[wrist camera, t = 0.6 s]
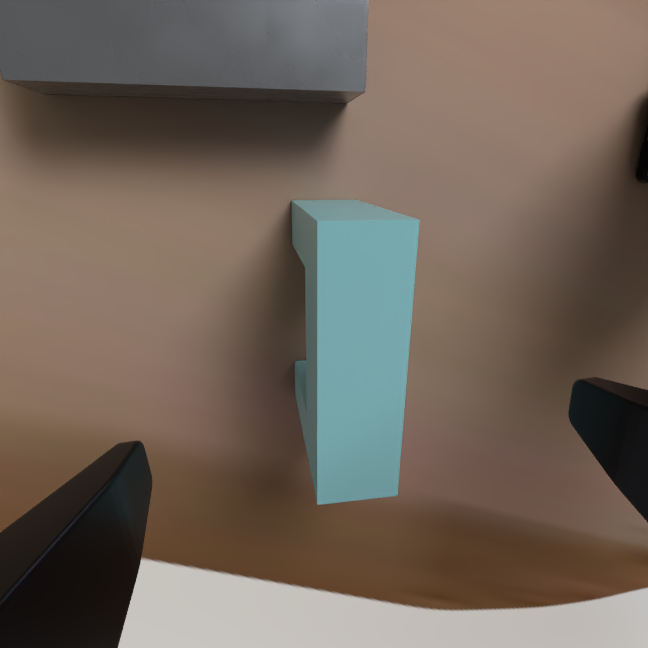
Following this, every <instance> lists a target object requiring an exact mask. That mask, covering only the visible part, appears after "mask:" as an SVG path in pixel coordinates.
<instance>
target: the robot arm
mask: <svg viewBox="0 0 648 648" xmlns="http://www.w3.org/2000/svg"><path fill="white" fill-rule="evenodd" d="M636 177H637V180H638V181H639V182H641V183H648V127H647V131H646V136H645V140H644V144H643V148H642V152H641V156H640V161H639V165H638V169H637V174H636ZM568 414H569V420H570V422H571V424H572V426H573V427H574V429H575V430H576V431H577V433H578V434H579V435H580V437H581V438H582V440H583V441H584V442H585V444H586V445H587V447H588V448H589V449H590V451H591V452H592V454H593V455H594V456H595V458H596V459H597V460H598V462H599V463H600V465H601V466H602V467H603V469H604V470H605V472H606V473H607V474H608V476H609V477H610V478H611V480H612V481H613V482H614V484H615V485H616V486H617V487H618V488H619V490H620V491H621V492H622V493H623V494H624V496H625V497H626V498H627V499H628V500H629V501H630V502H631V504H632V505H633V506H634V507H635V508H636V509H637V511H638V512H639V513H640V514H641V515H642V516H643V517H644V519H645V520H646V521H647V522H648V390H645V389H641V388H637V387H633V386H629V385H625V384H621V383H617V382H613V381H609V380H605V379H601V378H596V377H592V378H585V379H579V380H577V381H575V383H574V384H573V387H572V393H571V399H570V405H569V413H568ZM151 491H152V475H151V471H150V467H149V463H148V459H147V455H146V452H145V448H144V445H143V444H142V442H141V441H130V442H123V443H119V444H117V445H115V446H114V447H113V448H111V449H110V450H109V451H107V452H106V453H105V454H104V455H102V456H101V457H100V458H98V459H97V460H96V461H94V462H93V463H92V464H90V465H89V466H88V467H86V468H85V469H84V470H82V471H81V472H80V473H78V474H77V475H76V476H74V477H73V478H72V479H70V480H69V481H68V482H66V483H65V484H64V485H62V486H61V487H60V488H59V489H57V490H56V491H55V492H53V493H52V494H51V495H49V496H48V497H47V498H45V499H44V500H43V501H41V502H40V503H39V504H37V505H36V506H35V507H33V508H32V509H31V510H29V511H28V512H27V513H25V514H24V515H23V516H21V517H20V518H19V519H17V520H16V521H15V522H14V523H12V524H11V525H10V526H8V527H7V528H6V529H4V530H3V531H2V532H0V648H118V644H119V641H120V637H121V633H122V630H123V626H124V622H125V619H126V615H127V611H128V607H129V604H130V600H131V596H132V593H133V589H134V585H135V582H136V578H137V574H138V569H139V566H140V561H141V555H142V550H143V543H144V537H145V530H146V523H147V517H148V510H149V504H150V497H151Z"/></svg>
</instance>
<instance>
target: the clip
mask: <svg viewBox="0 0 648 648" xmlns="http://www.w3.org/2000/svg"><path fill="white" fill-rule="evenodd" d="M291 201H292V245H293V247H294V248H295V250H296V252H297V254H298V256H299V257H300V259H301V261H302V263H303V265H304V267H305V299H306V360H303V361H295V396H296V401H297V406H298V411H299V416H300V421H301V426H302V431H303V436H304V441H305V446H306V451H307V456H308V461H309V466H310V471H311V476H312V481H313V486H314V491H315V496H316V501H317V505H321V504H329V503H338V502H347V501H355V500H364V499H373V498H381V497H390V496H397V494H398V482H399V469H400V457H401V444H402V432H403V420H404V407H405V395H406V382H407V370H408V357H409V345H410V332H411V320H412V307H413V295H414V282H415V270H416V257H417V245H418V232H419V219H416V218H413V217H409V216H406V215H403V214H400V213H397V212H394V211H390V210H387V209H384V208H381V207H378V206H375V205H371V204H368V203H365V202H362V201H359V200H291Z"/></svg>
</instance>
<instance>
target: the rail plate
mask: <svg viewBox="0 0 648 648" xmlns="http://www.w3.org/2000/svg"><path fill="white" fill-rule="evenodd" d="M367 29H368V0H0V70H1V74H2V79H3V80H5V81H8V82H11V83H14V84H17V85H19V86H22V87H25V88H28V89H31V90H34V91H37V92H39V93H42V94H59V95H93V96H127V97H161V98H195V99H229V100H264V101H298V102H332V103H349V102H350V101H352V100H353V99H355V98H356V97H358V96H360V95H361V94H363V93H364V92H365V87H366V58H367Z"/></svg>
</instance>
